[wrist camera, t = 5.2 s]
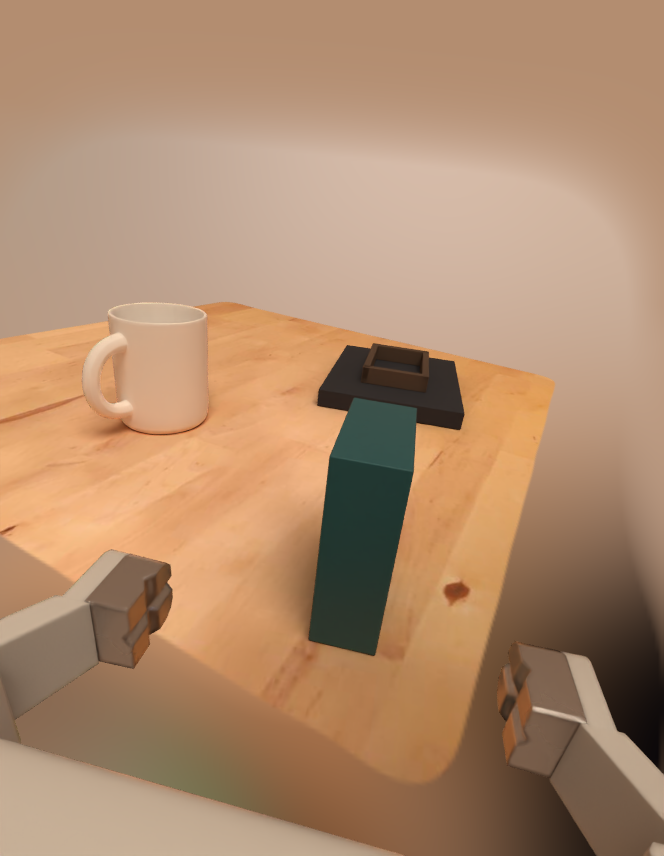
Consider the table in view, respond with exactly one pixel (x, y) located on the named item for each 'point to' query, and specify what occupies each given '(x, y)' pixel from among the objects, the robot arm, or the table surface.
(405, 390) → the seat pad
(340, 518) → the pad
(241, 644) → the table surface
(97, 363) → the mug
